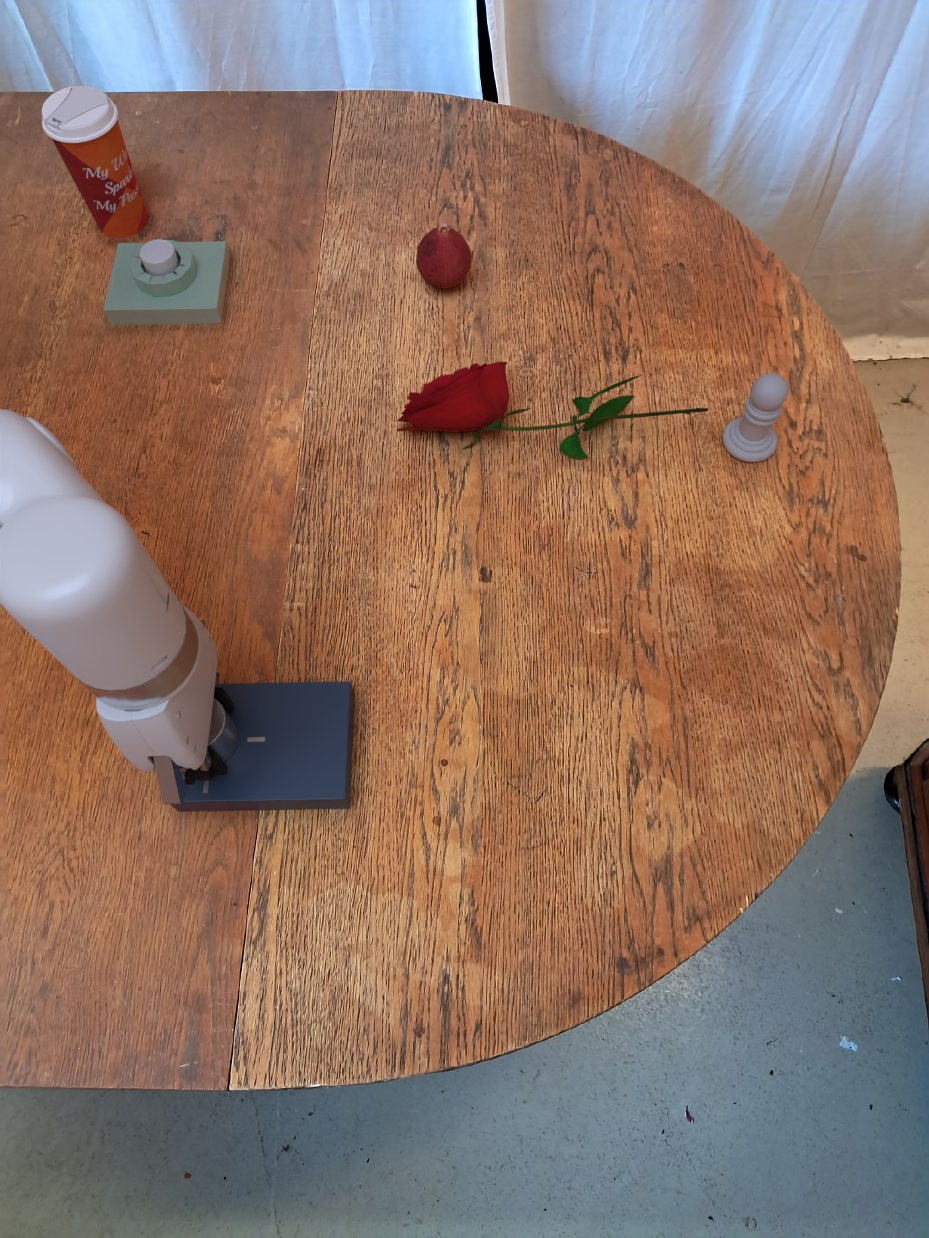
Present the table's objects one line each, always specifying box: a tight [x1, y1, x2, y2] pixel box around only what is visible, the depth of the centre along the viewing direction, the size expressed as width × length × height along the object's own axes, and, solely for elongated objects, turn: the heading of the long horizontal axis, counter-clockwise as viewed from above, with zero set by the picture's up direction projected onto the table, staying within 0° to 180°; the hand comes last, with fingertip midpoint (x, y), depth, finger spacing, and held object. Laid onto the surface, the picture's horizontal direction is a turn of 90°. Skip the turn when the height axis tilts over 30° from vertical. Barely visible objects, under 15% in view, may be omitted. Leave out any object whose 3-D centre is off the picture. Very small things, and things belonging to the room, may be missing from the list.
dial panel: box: [169, 680, 356, 813], centre depth 74 cm, size 15×10×3 cm, turn 91°
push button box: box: [102, 239, 232, 326], centre depth 97 cm, size 12×10×4 cm
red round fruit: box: [415, 222, 472, 289], centre depth 95 cm, size 6×6×8 cm
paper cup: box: [41, 85, 148, 239], centre depth 97 cm, size 8×8×14 cm
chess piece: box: [722, 372, 789, 463], centre depth 85 cm, size 5×5×9 cm
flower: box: [396, 361, 709, 460], centre depth 86 cm, size 9×9×30 cm
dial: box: [207, 698, 239, 762], centre depth 70 cm, size 4×4×5 cm
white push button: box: [140, 238, 179, 276], centre depth 95 cm, size 4×4×2 cm
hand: (210, 739), depth 72 cm, fingers closed on dial, 4 cm apart
